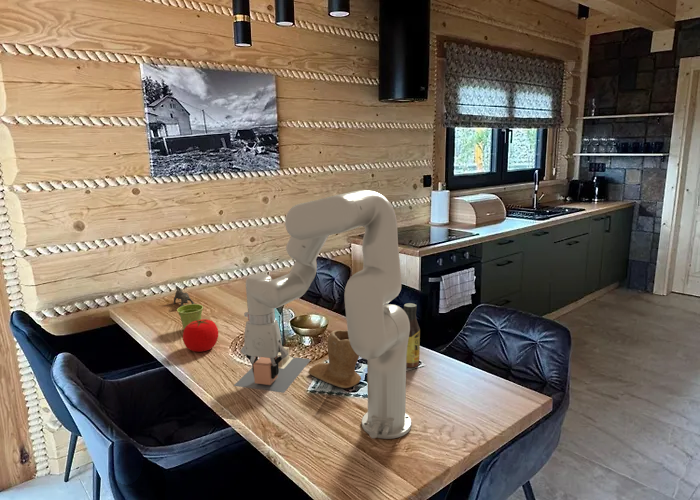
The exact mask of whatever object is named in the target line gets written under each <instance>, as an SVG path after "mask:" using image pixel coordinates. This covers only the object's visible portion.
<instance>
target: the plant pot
mask: <svg viewBox="0 0 700 500" xmlns="http://www.w3.org/2000/svg"><path fill="white" fill-rule="evenodd" d="M180 306H181V305H180ZM180 306H179V307H178V308H177V309H176V310H177V311H176V312H177V313H178V315H179V317H180V320H181V325H182V328H183V330H184V329H185V327H186V326H187V325H188V324H190V323H191V322H193V321H196V320H201V319H202V312H203V309H204V306H203V305H202V304H197V303H194V304H192V303H190V304H185V305H184V304H183V306H181V307H180Z"/></svg>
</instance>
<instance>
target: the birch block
mask: <svg viewBox="0 0 700 500" xmlns="http://www.w3.org/2000/svg"><path fill="white" fill-rule="evenodd" d="M283 347H284V349H285V350H286V351H287V352H288V355H287V356H286V357H285V358H284V359H282V360H281V361H280V362H279V363H278V367H283V365H284V364H285V363H286V362H287V361H288V360H289V359H290V357H291V356H290V347H288V346H283ZM280 355H281V353H280V352H278V357H279V356H280Z"/></svg>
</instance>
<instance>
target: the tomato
mask: <svg viewBox="0 0 700 500" xmlns="http://www.w3.org/2000/svg"><path fill="white" fill-rule="evenodd" d="M218 339H219V328H218V326H217V325H216V323H215V322H214V321H213V320H211V319H207V318H206V319H205V318H201V320H196V321H193V322H191V323H190V324H188V325H187V326H186V327H185V329H183V332H182V340H183V344H184V345H185V347H186V348H187V349H188V350H190V351H192V352H195V353H196V352H197V353H200V352H201V353H202V352H206V351H210V350H211V349H212V348H214V347H215V346H216V344H217V343H218Z"/></svg>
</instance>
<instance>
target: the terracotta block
mask: <svg viewBox="0 0 700 500" xmlns="http://www.w3.org/2000/svg"><path fill="white" fill-rule="evenodd" d="M271 366H272V363H271V360H270V358H264V357H258V360H257V361H256V362H255V363H254V364H253V367H254V380H255V383H258V384H266V385H271V384H272V383H273V382H274V381H275V379H276V378H277V377H278V376H276V377H275V378H274V379H272V378H271Z"/></svg>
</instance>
